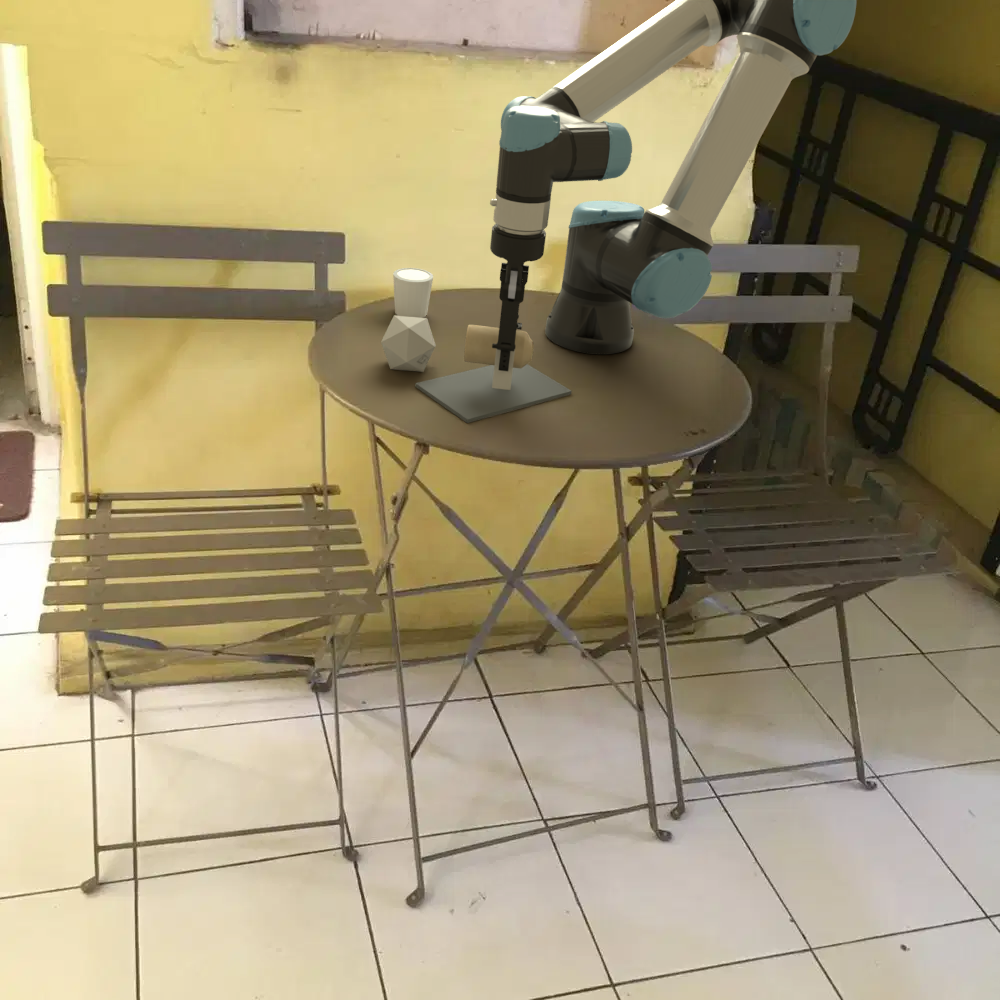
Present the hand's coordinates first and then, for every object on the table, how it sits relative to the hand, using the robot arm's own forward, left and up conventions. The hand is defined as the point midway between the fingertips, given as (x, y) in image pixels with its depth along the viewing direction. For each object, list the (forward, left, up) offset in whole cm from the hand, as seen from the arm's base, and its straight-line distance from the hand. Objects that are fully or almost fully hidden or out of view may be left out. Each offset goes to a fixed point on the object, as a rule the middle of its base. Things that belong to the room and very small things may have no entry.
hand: (502, 378), depth 153 cm
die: (+8, -14, -3) cm, 16 cm away
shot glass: (-5, -32, -3) cm, 33 cm away
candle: (+5, -4, +5) cm, 8 cm away
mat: (+1, -1, -2) cm, 3 cm away
